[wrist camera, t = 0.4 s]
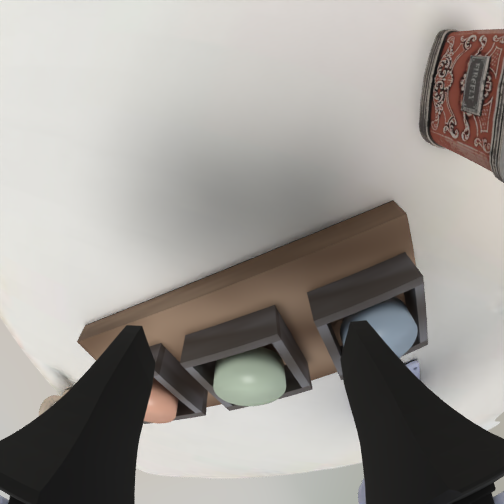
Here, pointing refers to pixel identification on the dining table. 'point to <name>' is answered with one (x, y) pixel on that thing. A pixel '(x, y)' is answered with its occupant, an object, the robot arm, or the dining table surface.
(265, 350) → the button sage
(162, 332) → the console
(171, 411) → the button terracotta
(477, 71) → the lighter
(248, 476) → the dining table surface
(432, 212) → the dining table surface
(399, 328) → the button slate
